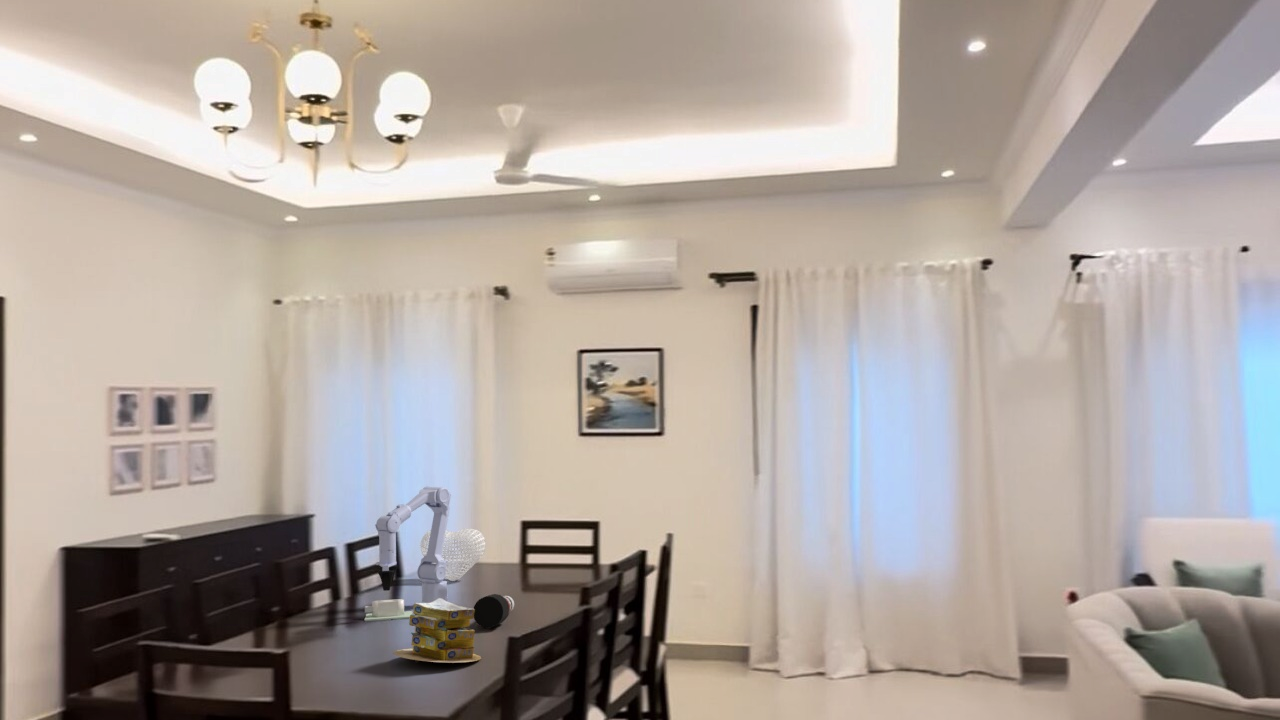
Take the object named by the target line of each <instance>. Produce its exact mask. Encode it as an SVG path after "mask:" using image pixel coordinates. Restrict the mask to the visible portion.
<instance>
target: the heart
mask: <svg viewBox="0 0 1280 720" xmlns="http://www.w3.org/2000/svg"><path fill="white" fill-rule="evenodd" d="M430 534H431V529H430V530H427V532H426V533H424V534H423V536H422V538H421V541H420V551H421V554H422V555H423V557H424V556H426V555H427V551H428V545H429V539H430ZM486 544H487V543H486V538H485V536H484V535H483V533H482V532H481V531H479V530H478V529H474V528H463V529H460V530H457V531H450V530H447V529H446V533H445V539H444V544H443V550H442V558H443V559H444V560H445V561H446V576H445V578H446V579H447V580H449V581H451V582H457V580H459V579H460V578H462V577H463V576H464V575H465V574H466V573H467V572H468V571H469V570H470V569H471V568H473V566H475V564H477V563H478V562H479V560H480V559H481V558H482V556H483V554H484V553H485V550H486ZM459 552H460V553H459ZM462 552H463V553H462ZM431 564H436V563H431Z"/></svg>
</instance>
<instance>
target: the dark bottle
mask: <svg viewBox="0 0 1280 720" xmlns="http://www.w3.org/2000/svg"><path fill="white" fill-rule="evenodd" d="M473 608H474V609H475V611H474V617H473V619H474V621H475V623H476V624H477V625H478V626H479V627H483V628H484V629H491V628H493V627H494V628H495V627H496V626H498V625H500V624H502V623H504V622H505V621H506V620H507V618H508V616H509V613H511V612H512V611H513V610H514V608H515V601H514V599H513V598H512V597H511V596H509V595H501V594H497V593H493V594H489V595H486V596H483V597H481V598H480V599H478V600H477V601H476V602H475V604H474V606H473Z"/></svg>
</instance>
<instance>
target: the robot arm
mask: <svg viewBox="0 0 1280 720" xmlns="http://www.w3.org/2000/svg"><path fill="white" fill-rule="evenodd" d="M451 497H452V494H451V492H450V491H449V489H448V488H447V487H445V486H440V487H439V486H438V487H437V486H434V487H433V486H425V487H423V488H422V489H420V490H419V492H418V493H417V494H416V495H415V496H414V497H412V498H411V500H409V501H408V502H406V504H404V503H403V504H397V505H396V507H395V508H394V509H393V510H391V511H389V512H387V514H386V515H381V516H380V517H379V518H378V519H377V521H376V524H375V525H374V526H375V529H376V531H377V535H378V537H379V540H378V543H379V547H378V548H379V549H378V550H379V557H378V558H379V562H376V563H375V565H376V566H380V567H381V568H380V569H379V570H377V574H378V576H379V578H380V581H381V586H382V590H383V591H384V592H385V591H387V592H388V591H390V590H391V587H393V584H394V578H395V574H396V571H397V569H398V565H397V563H398V562H397V532H398V531H399V529H400V526H401V525H402V524H403V523H404V522H406V521H408V520H409V519H410V518H411V517H412V512H415V511H416V510H417V509H419V508H420V507H422V506H423V505H426V506H427V507H428V508H430V509H431V511H432V512H433V517H432V523H431V529H430V530H431V533H430V536H429V538H430V539H428V541H429V542H428V543H429V544H428V545H427V546H428V550H427V555H426V556H423V557H422V558H421V559H420V563H419V566H418V567H417V572H416V574H417V577H418V578H419V579H420V582H421V600H422V601H421V603H428V602H433V601H435V600H437V599H438V598H441V599H444V600H446V601H447V602H449V595H448V581H447V580H445V578H446V577H445V576H446V572H447V571H446V567H447V566H446V565H447V563H446V561H447V560H446V559H445V560H444V559H443V557H442V555H443V553H442V551H444V548H443V547H444V545H445V544H444V543H445V541H444V539H445V540H446V538H445V537H446V536H445V533H446V530H447V527H448V520H449V514H450V502H451ZM443 544H444V545H443ZM431 563H436V564H431Z"/></svg>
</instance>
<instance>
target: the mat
mask: <svg viewBox="0 0 1280 720" xmlns="http://www.w3.org/2000/svg"><path fill="white" fill-rule="evenodd" d="M410 615H413V610H407V611H405V610H404V615H400V616H385V617H372V613H365V617H364V622H373V621H374V622H375V621H390V620H391V619H393V620H405V619H406V620H407V619H409V620H410ZM391 621H392V620H391Z"/></svg>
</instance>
